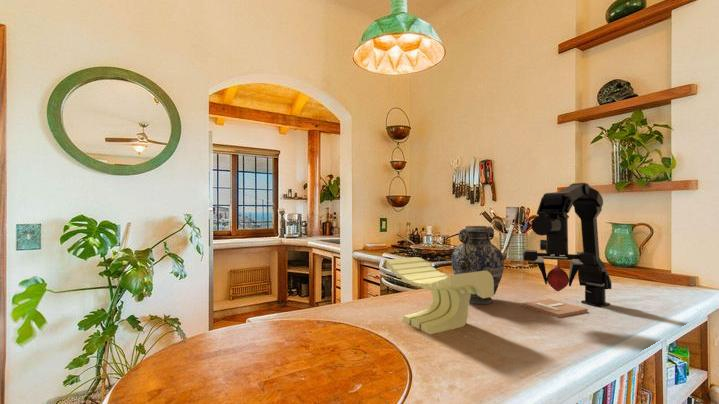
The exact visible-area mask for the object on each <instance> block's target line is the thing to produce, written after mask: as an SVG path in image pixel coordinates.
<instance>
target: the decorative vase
mask: <svg viewBox="0 0 719 404" xmlns="http://www.w3.org/2000/svg"><path fill="white" fill-rule="evenodd" d="M494 238H495V230H494V228H493V227H492V226H486V225H467V226H466V225H465V227H464V228H462V229H460V230H459V232H458V240H459V242H461V243H460V244H458V245H457V246H456V247H455V248H454V249H453V251H452V254H451V267H452V271H453V275H455V274H463V273H470V272H478V271H488V272H490V273H491V275H492V276H493V280H494V296H495V295H496V292H497V290H498V287H499V285H500V283H501V281H502V278H503V274H504V268H505V267H504V266H505V265H504V264H505V262H504V255H503V252H502V251H501V249H499V248H498V246H496V245H495V244H493V243H492V240H493V239H494ZM493 302H494V301H493V297H488V298H481V297H480V296H478V295H477V294H471V297H470V301H469V304H473V305H474V304H475V305H489V304H492V303H493Z"/></svg>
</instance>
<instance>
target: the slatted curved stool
mask: <svg viewBox="0 0 719 404" xmlns="http://www.w3.org/2000/svg"><path fill="white" fill-rule="evenodd" d="M386 269H388V270H391V273H392V274H395V275H396V278H399V279H401V282H403V283H405V284H408V285H409V284H410V285H411V286H414V287H418V288H420V289H424V290H427V291H430V293H431V294H432V304H431V305H430V306H428V308H426V309H424V310H420V311H418V312H415V313H409V314H405V315H403V318H402V320H401V321H402V322H404V323H405V324H408V325H411V327H414V328H416V329H418V330H421V331H422V332H424V333H426V334H428V335H433V334H436V333H441V332H445V331H449V330H454V329H458V328H463V327H465V325H466V324H467V320H468V313H469V305H470V303H469V301H470V297H471V294H477V295H478V296H480V297H481V298H488V297H491V298H494V297H495V295H494V280H493V276H492V275H491V273H490V272H488V271H478V272H470V273H463V274H455V275H454V274H450V275H448V274H446V273H443V272H441V271H439V270H438V268H436V267H433V266H432V264H431V263H428V262H427V260H426V259H424V258H422V257H418V256H413V257H403V258H402V257H401V258H391V259H390V258H389V259H386Z"/></svg>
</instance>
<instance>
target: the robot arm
mask: <svg viewBox="0 0 719 404" xmlns="http://www.w3.org/2000/svg"><path fill="white" fill-rule="evenodd" d="M603 206H604V198H603V196H602V195H601V193H600V191H598V190H597V189H595V188H593V187H591V186H590V184H588V183H586V182H576V183H575V182H574V183H570V184H569V186H566V187H565V188H564V189H561V190H560V191H557V192H554V191H553V192H546V193H543V195H542V197H541V199H540V201H539V205H538V208H537V212H536V215H537V216H535V218H533V220H532V222H531V224H530V226H531V230H532V231H533V232H534V234H536V235H537V236H545V238H546V239H540V240H539V250H540V251H545V252H538V250H536V249H524V250H523V251H522V252H523V253H522V256H523V258H522V259H523V261H524V262H527V261H528V262H533V264H534V265H537V266H538V268H539V270H540V273H541V275H542V278H543V281H544V283H545V285H548V282H547V272H546V271H547V270H546V264H545V261H544V260H557V261H559V260H561V261H569V274H568V278H569V282H568V287H571V286H572V284H573V281H574V280H575V277H576V275H577V276H578V282H579V286H583V287H584V300H581V301H580V302H581V303H584V304H587V305H590V306H594V307H599V308H600V307H604V306H610V305H611V303H610V302H606V301H607V300H606V299H607V298H606V297H607V296H606V290H612V286H613V284H612V280H611V277H610V275H609V273H608V271H607V267H606V264H605V263H604V262H603V261H602V259H601V258H600V246H599V232H598V231H599V230H598V221H597V220H598V217H599V215H600V214H601V212H602V210H603V209H602V207H603ZM572 207H573V208H574V212H575V214H576V215H577V217H578V218H579V219H580V224H581V225H580V226H581V238H582V240H581V241H582V251H577V252H576V253H575V254H574V253H572V254H571V253H569V231H568V230H569V229H568V227H569V226H568V225H569V221H568V219H569V218H570V216H569V215H568V214H569V213H570V211H571V208H572Z"/></svg>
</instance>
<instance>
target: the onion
mask: <svg viewBox="0 0 719 404" xmlns="http://www.w3.org/2000/svg"><path fill="white" fill-rule="evenodd" d="M546 276H547V285H549V287H551V288H552V289H553V290H554V291H556V292H560V291H562V290H563V289H565V288H566V287H567V286H569V274H567V272H566V271H565V270H564V269H562V268H561V267H560V265H559V264H556V265H555V266H554V268H552V269H550V270H549V271H548V273H547V274H546Z"/></svg>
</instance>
